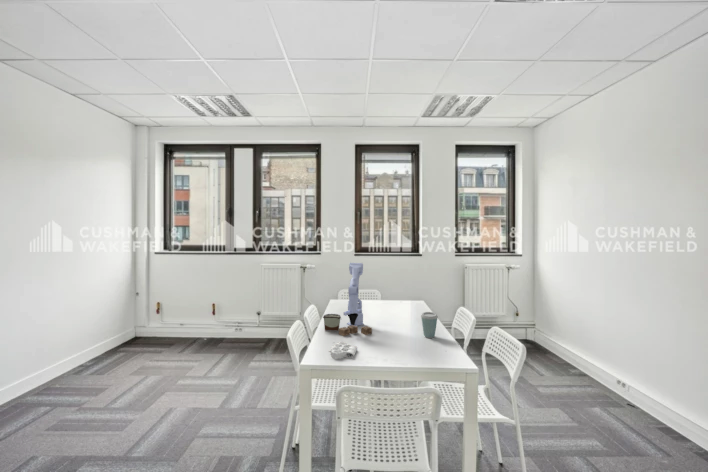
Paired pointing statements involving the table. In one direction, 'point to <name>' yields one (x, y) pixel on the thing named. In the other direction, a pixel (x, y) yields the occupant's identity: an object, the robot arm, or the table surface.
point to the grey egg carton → (342, 350)
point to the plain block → (353, 329)
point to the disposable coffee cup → (429, 324)
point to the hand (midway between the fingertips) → (352, 324)
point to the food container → (331, 322)
